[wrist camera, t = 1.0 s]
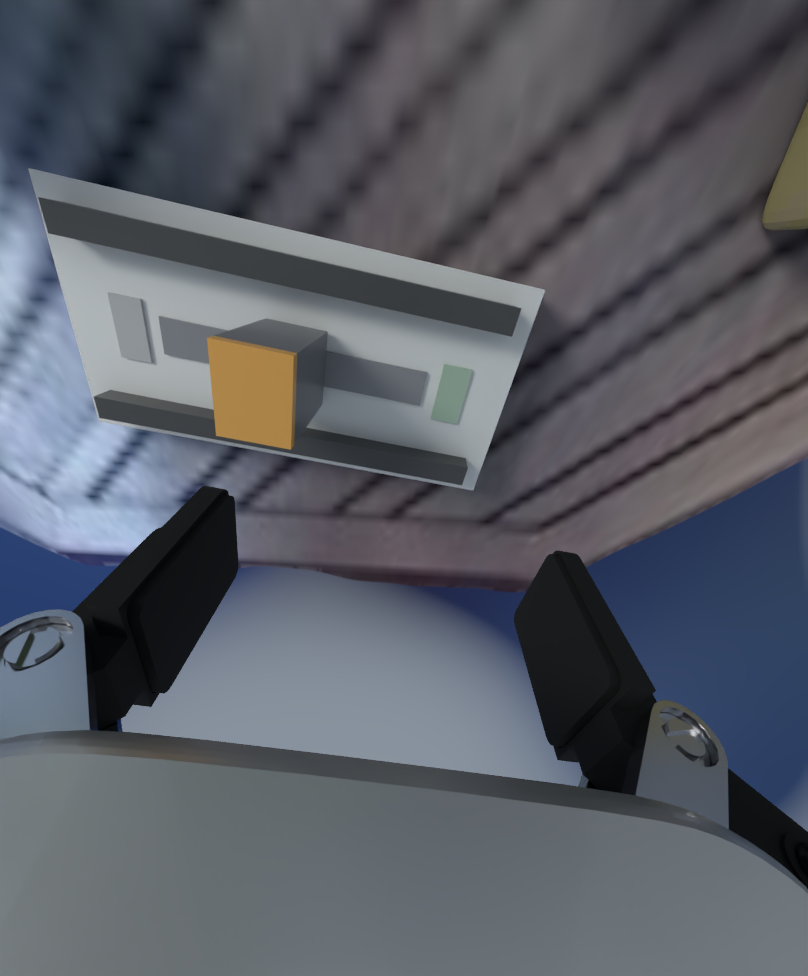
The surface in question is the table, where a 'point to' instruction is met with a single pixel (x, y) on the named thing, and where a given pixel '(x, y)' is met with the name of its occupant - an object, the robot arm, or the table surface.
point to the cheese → (791, 185)
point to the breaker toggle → (267, 381)
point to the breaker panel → (292, 299)
